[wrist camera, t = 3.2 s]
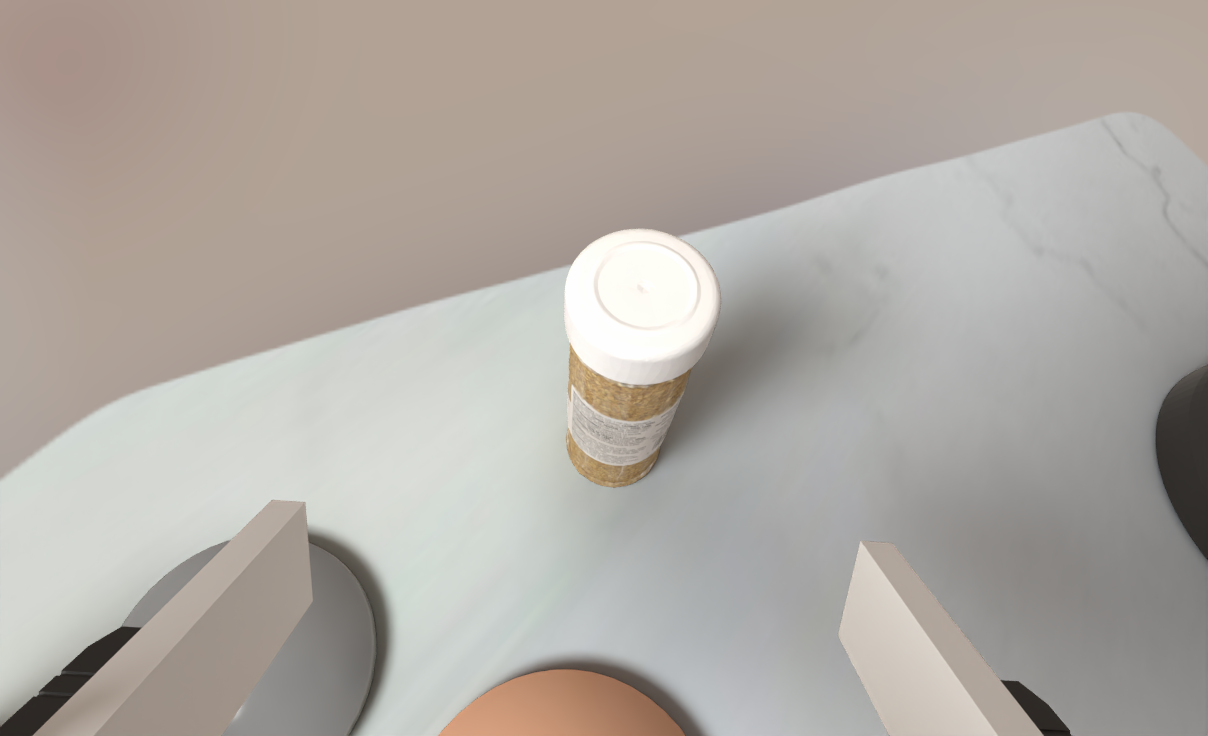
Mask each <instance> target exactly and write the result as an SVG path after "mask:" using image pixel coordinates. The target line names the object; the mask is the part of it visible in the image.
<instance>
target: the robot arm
mask: <svg viewBox="0 0 1208 736" xmlns="http://www.w3.org/2000/svg"><path fill="white" fill-rule="evenodd" d="M1156 448H1157V457H1158V463H1159V467H1160V471H1161V475H1162V478H1163V482H1164V485H1165V487H1166V490H1167V493H1168V495H1169V498H1170V500H1171V502H1172V504H1173V506H1174V508H1175V510H1176V512H1177V514H1178V516H1179V518H1180V520H1181V521H1182V523H1183V525H1184V526H1185V528H1186V530H1187V531H1188V533H1189V534H1190V536H1191V537H1192V539H1193V540H1194V542H1195V543H1196V545H1197V546H1198V547H1199V549H1200V550H1201V551H1202V553H1203V554H1204V555H1205V557H1206V558H1207V559H1208V365H1207V366H1205V367H1203V368H1201V369H1198V370H1196V371H1194V372H1192V373H1191V374H1189V375H1187V376H1186V377H1184V378H1183V379H1182V380H1181V381H1179V382H1178V383H1177V384H1176V385H1175V386H1174V387H1173V389H1172V390H1171V391H1170V393H1169V394H1168V396H1167V397H1166V399H1165V401H1164V403H1163V405H1162V407H1161V410H1160V414H1159V417H1158V422H1157V430H1156ZM312 602H313V596H312V583H311V570H310V557H309V544H308V531H307V518H306V505H305V502H295V501H280V500H271V501H270V502H269V503H268V504H267V505H266V506H265V507H264V508H263V509H262V510H261V511H260V512H259V513H258V514H257V515H256V516H255V517H254V518H253V519H252V520H251V521H250V522H249V523H248V524H247V525H246V526H245V527H244V528H243V529H242V530H241V531H240V532H239V533H238V534H237V535H236V536H235V537H234V538H233V539H232V540H231V541H230V542H229V543H228V544H227V545H226V546H225V547H224V548H223V549H222V550H221V551H220V552H219V553H218V554H217V555H216V556H215V557H214V558H213V559H212V560H211V561H209V562H208V563H207V564H206V565H205V566H204V567H203V568H202V569H201V570H200V571H199V572H198V573H197V574H196V575H195V576H194V577H193V578H192V579H191V580H190V581H189V582H188V583H187V584H186V585H185V586H184V587H183V588H182V589H181V590H180V591H179V592H178V593H177V594H176V595H175V596H174V597H173V598H172V599H171V600H170V601H169V602H168V603H167V604H166V605H165V606H164V607H163V608H162V609H161V610H160V611H159V612H158V613H157V614H156V615H155V616H154V617H153V618H152V619H151V620H150V621H149V622H148V623H146V624H145V625H144V626H143V627H142V628H141V627H125V626H122V627H120V628H119V629H117V630H115V631H114V632H112V633H110V634H108V635H107V636H105V637H103V638H102V639H100V640H98V641H97V642H95V643H93V644H91V645H90V646H88V647H87V648H86V649H85V650H84V651H83V652H82V653H80V654H79V655H78V656H77V657H76V658H75V659H74V660H73V661H72V662H71V663H70V664H69V665H67V666H66V667H65V668H64V669H63V670H62V672H61V675H60V676H55V677H54V678H53V679H52V680H51V681H50V682H49V683H48V684H47V685H46V686H45V687H43V688H42V689H41V690H40V691H39V695H38V696H37V697H33V698H31V699H30V700H29V701H28V702H27V703H26V704H25V705H24V706H23V707H22V708H21V709H19V710H18V711H17V712H16V713H15V714H14V715H13V716H12V717H11V718H10V719H9V720H7V721H6V722H5V723H4V724H3V725H2V726H1V727H0V736H221V735H222V734H223V733H224V731H225V730H226V728H227V727H228V725H229V724H230V722H231V721H232V719H233V718H234V716H235V715H236V713H237V712H238V710H239V709H240V708H241V706H242V705H243V703H244V702H245V700H246V699H247V697H248V696H249V694H250V693H251V691H252V690H253V688H254V687H255V685H256V684H257V683H258V681H259V680H260V678H261V677H262V675H263V674H264V672H265V671H266V669H267V668H268V666H269V665H270V663H271V662H272V660H273V659H274V657H275V656H276V655H277V653H278V652H279V650H280V649H281V647H282V646H283V644H284V643H285V641H286V640H287V638H288V637H289V635H290V634H291V632H292V631H293V630H294V628H295V627H296V625H297V624H298V622H299V621H300V619H301V618H302V616H303V615H304V613H305V612H306V610H307V609H308V607H309V606H310V604H311V603H312ZM838 637H839V638H840V640H841V642H842V644H843V646H844V648H845V650H846V652H847V654H848V656H849V658H850V660H851V662H852V664H853V666H854V668H855V670H856V672H857V674H858V676H859V678H860V680H861V681H862V683H863V685H864V687H865V689H866V691H867V693H868V695H869V697H870V699H871V701H872V703H873V705H874V707H875V709H876V711H877V713H878V715H879V717H880V719H881V721H882V723H883V725H884V726H885V728H886V730H887V732H888V734H889V736H1071V734H1070V730H1069V729H1068V728H1067V727H1066V725H1065V724H1064V723H1063V722H1062V721H1061V720H1060V718H1059V717H1058V716H1057V715H1056V714H1055V712H1054V711H1053V710H1052V709H1051V708H1050V706H1049V705H1048V704H1047V703H1045V702H1044V701H1043V700H1041V699H1040V698H1039V697H1038V696H1036V695H1035V694H1034V693H1033V692H1031V691H1030V690H1029V689H1027V688H1026V687H1025V686H1024V685H1022V684H1021V683H1020V682H1019V681H1004V680H1000V679H999V678H998V677H997V676H996V674H995V673H994V672H993V671H992V669H991V668H990V667H989V665H988V664H987V663H986V662H985V660H984V659H983V658H982V657H981V655H980V654H979V653H978V651H977V650H976V649H975V648H974V646H973V645H972V644H971V643H970V641H969V640H968V639H967V638H966V636H965V635H964V634H963V632H962V631H961V630H960V629H959V627H958V626H957V625H956V624H955V622H954V621H953V620H952V618H951V617H950V616H949V615H948V613H947V612H946V611H945V610H944V608H943V607H942V606H941V604H940V603H939V602H938V601H937V599H936V598H935V597H934V596H933V594H932V593H931V592H930V591H929V589H928V588H927V587H926V585H925V584H924V583H923V582H922V580H921V579H920V578H919V577H918V575H917V574H916V573H915V571H914V570H913V569H912V568H911V566H910V565H909V564H908V563H907V561H906V560H905V559H904V557H903V556H902V555H901V554H900V552H899V551H898V550H897V549H896V547H895V546H894V545H893V543H886V542H871V541H860V545H859V549H858V553H857V557H856V562H855V566H854V570H853V574H852V578H851V582H850V586H849V591H848V595H847V599H846V603H845V607H844V611H843V616H842V620H841V624H840V628H839V632H838Z"/></svg>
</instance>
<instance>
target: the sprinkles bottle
mask: <svg viewBox="0 0 1208 736" xmlns="http://www.w3.org/2000/svg"><path fill="white" fill-rule="evenodd" d="M720 307H721V292H720V287H719V283H718V280H717V277H716V275H715V273H714V270H713V269H712V267H711V266H710V264H709V263H708V261H707V260H706V259H705V258H704V256H703V255H702V254H701V253H700V252H699V251H697V250H696V249H695V248H694V247H693V246H691V245H690V244H688V243H687V242H685V241H683V240H682V239H680V238H678V237H676V236H673V235H670V234H667V233H664V232H661V231H657V230H651V229H628V230H622V231H618V232H614V233H611V234H608V235H606V236H603V237H601V238H599V239H597V240H596V241H594V242H593V243H591V244H590V245H589V246H587V247H586V248H585V249H584V250H583V251H582V252H581V254H580V255H579V256H578V257H577V258H576V259H575V261H574V263H573V265H572V267H571V269H570V271H569V273H568V277H567V280H566V285H565V304H564V321H565V328H566V333H567V336H568V339H569V341H570V358H569V382H568V387H567V419H568V427H569V428H568V431H567V435H566V442H567V450H568V453H569V457H570V459H571V461H572V463H573V464H574V466H575V467H576V469H577V470H578V472H579V473H580V474H581V475H583V476H584V477H586V478H587V479H589V480H590V481H592V482H594V483H596V484H599V485H602V486H608V487H613V488H614V487H621V486H626V485H629V484H632V483H634V482H636V481H638V480H640V479H641V478H643V477H644V476H645V475H646V474H647V473H648V472H649V471H650V469H651V468H652V467H653V465H654V464H655V461H656V460H657V458H658V454H659V447H660V445H661V444H662V442H663V440H664V438H665V436H666V434H667V431H668V429H669V427H670V424H671V422H672V420H673V417H674V415H675V412H676V410H677V407H678V405H679V403H680V400H681V398H682V396H683V394H684V391H685V388H686V386H687V382H688V378H689V375H690V372H691V369H692V367H693V366H694V365H695V364H696V363H697V362H698V361H699V359H700V358H701V357H702V355H703V354H704V352H705V350H706V348H707V346H708V344H709V341H710V339H711V337H712V334H713V332H714V329H715V326H716V323H717V320H718V317H719V313H720Z"/></svg>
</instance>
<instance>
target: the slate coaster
mask: <svg viewBox="0 0 1208 736" xmlns="http://www.w3.org/2000/svg"><path fill="white" fill-rule="evenodd" d="M230 541H231V540H230ZM230 541H226V542H224V543H221V544H218V545H215V546H213V547H210V548H208V549H206V550H204V551H202V552H200V553H198V554H196V555H194V556H193V557H191V558H189V559H188V560H186V561H185V562H183V563H181V564H180V565H178V566H177V567H176V568H174V569H173V570H172V571H171V572H169V573H168V574H167V575H165V576H164V577H163V578H162V579H161V580H160V581H159V582H158V583H157V584H155V585H154V586H153V587H152V588H151V589H150V590H149V591H148V592H147V593H146V595H145V596H144V597H143V598H142V599H141V600H140V601H139V603H138V604H137V605H136V606H135V608H134V609H133V610H132V612H131V613H130V615H129V616H128V617H127V619H126V620H125V621H124V623H123V625H122V626H125V627H141V628H142V627H143V626H144V625H145V624H146V623H148V622H149V621H150V620H151V619H152V618H153V617H154V616H155V615H156V614H157V613H158V612H159V611H160V610H161V609H162V608H163V607H164V606H165V605H166V604H167V603H168V602H169V601H170V600H171V599H172V598H173V597H174V596H175V595H176V594H177V593H178V592H179V591H180V590H181V589H182V588H183V587H184V586H185V585H186V584H187V583H188V582H189V581H190V580H191V579H192V578H193V577H194V576H195V575H196V574H197V573H198V572H199V571H200V570H201V569H202V568H203V567H204V566H205V565H206V564H207V563H208V562H209V561H211V560H212V559H213V558H214V557H215V556H216V555H217V554H218V553H219V552H220V551H221V550H222V549H223V548H224V547H225V546H226V545H227V544H228V543H229V542H230ZM308 544H309V557H310V570H311V583H312V596H313V602H312V603H311V604H310V606H309V607H308V609H307V610H306V612H305V613H304V615H303V616H302V618H301V619H300V621H299V622H298V624H297V625H296V627H295V628H294V630H293V631H292V632H291V634H290V635H289V637H288V638H287V640H286V641H285V643H284V644H283V646H282V647H281V649H280V650H279V652H278V653H277V655H276V656H275V657H274V659H273V660H272V662H271V663H270V665H269V666H268V668H267V669H266V671H265V672H264V674H263V675H262V677H261V678H260V680H259V681H258V683H257V684H256V685H255V687H254V688H253V690H252V691H251V693H250V694H249V696H248V697H247V699H246V700H245V702H244V703H243V705H242V706H241V708H240V709H239V710H238V712H237V713H236V715H235V716H234V718H233V719H232V721H231V722H230V724H229V725H228V727H227V728H226V730H225V731H224V733H223V734H222V735H221V736H348V735H349V734H350V732H351V731H352V729H353V727H354V725H355V723H356V722H357V720H358V718H359V716H360V714H361V712H362V709H363V707H364V704H365V701H366V699H367V696H368V694H369V690H370V686H371V683H372V679H373V675H374V668H375V661H376V644H377V638H376V628H375V621H374V617H373V612H372V608H371V605H370V603H369V600H368V598H367V595H366V593H365V591H364V589H363V587H362V586H361V584H360V582H359V581H358V579H357V578H356V577H355V575H354V574H353V573H352V572H351V570H350V569H349V568H348V567H347V566H346V565H345V564H344V563H343V562H341V561H340V560H339V559H338V558H337V557H335V556H333V555H332V554H330V553H329V552H327V551H326V550H324V549H322V548H320V547H318V546H315V545H313V544H311V543H309V542H308Z"/></svg>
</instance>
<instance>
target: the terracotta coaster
mask: <svg viewBox="0 0 1208 736" xmlns="http://www.w3.org/2000/svg"><path fill="white" fill-rule="evenodd" d="M439 736H686V735H685V734H684V733H683V731H682V730H681V728H680V727H679V726H678V725H677V724H676V723H675V722H674V721H673V720H672V718H671V717H670V716H669V715H668V714H667V713H666V712H665V711H664V710H663V709H662V708H660V707H659V706H658V705H657V704H656V703H654V702H653V701H652V700H651V699H650V698H649V697H647V696H645V695H644V694H642V693H641V692H639V691H638V690H636V689H634V688H633V687H631V686H629V685H627V684H625V683H623V682H620V681H618V680H616V679H614V678H611V677H608V676H605V675H601V674H598V673H594V672H588V671H581V670H574V669H564V670H548V671H541V672H535V673H531V674H527V675H524V676H521V677H518V678H514V679H512V680H510V681H508V682H505V683H503V684H501V685H499V686H497V687H495V688H493V689H491V690H490V691H488V692H487V693H485V694H484V695H482V696H480V697H479V698H477V699H476V700H474V701H473V702H472V703H471V704H470V705H468V706H467V707H466V708H465V709H464V710H462V711H461V712H460V713H459V714H458V715H457V716H456V717H455V718H454V719H453V720H452V721H451V722H450V723H449V724H448V725H447V726H446V727H445V728H444V729H443V730H442V732H441V733H440V734H439Z"/></svg>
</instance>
